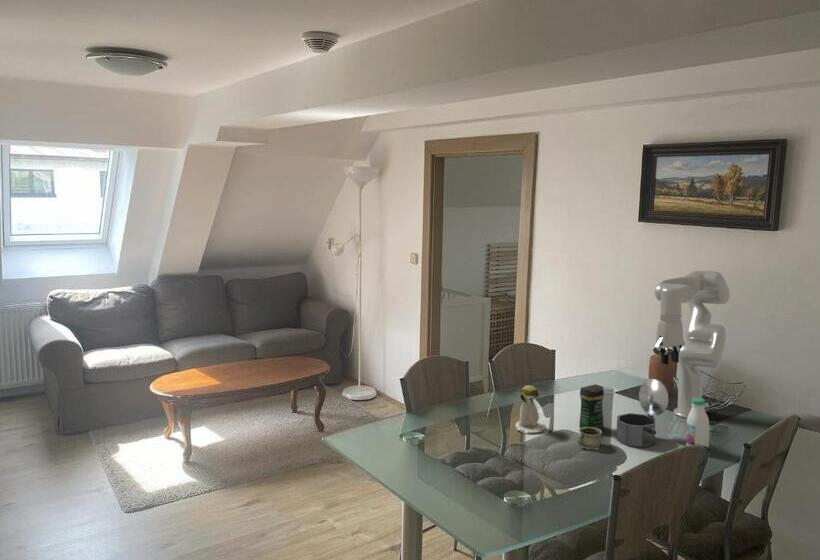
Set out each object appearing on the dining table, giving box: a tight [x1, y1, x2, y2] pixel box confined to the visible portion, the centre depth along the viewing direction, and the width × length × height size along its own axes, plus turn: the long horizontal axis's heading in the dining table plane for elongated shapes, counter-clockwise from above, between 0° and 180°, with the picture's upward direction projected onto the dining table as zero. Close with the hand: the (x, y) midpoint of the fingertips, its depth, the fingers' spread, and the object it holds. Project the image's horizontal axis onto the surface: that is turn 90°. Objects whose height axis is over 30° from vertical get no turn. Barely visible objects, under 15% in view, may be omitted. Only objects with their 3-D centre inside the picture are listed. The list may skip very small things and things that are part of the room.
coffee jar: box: [578, 383, 605, 431], centre depth 259 cm, size 10×8×19 cm
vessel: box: [577, 427, 604, 450], centre depth 242 cm, size 12×9×6 cm
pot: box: [616, 412, 657, 448], centre depth 246 cm, size 15×20×8 cm
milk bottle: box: [685, 398, 710, 448], centre depth 234 cm, size 8×8×20 cm
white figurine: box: [515, 385, 547, 434], centre depth 262 cm, size 12×13×18 cm
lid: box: [638, 378, 669, 417], centre depth 248 cm, size 15×14×2 cm
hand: (669, 362), depth 249 cm, fingers open, 4 cm apart
